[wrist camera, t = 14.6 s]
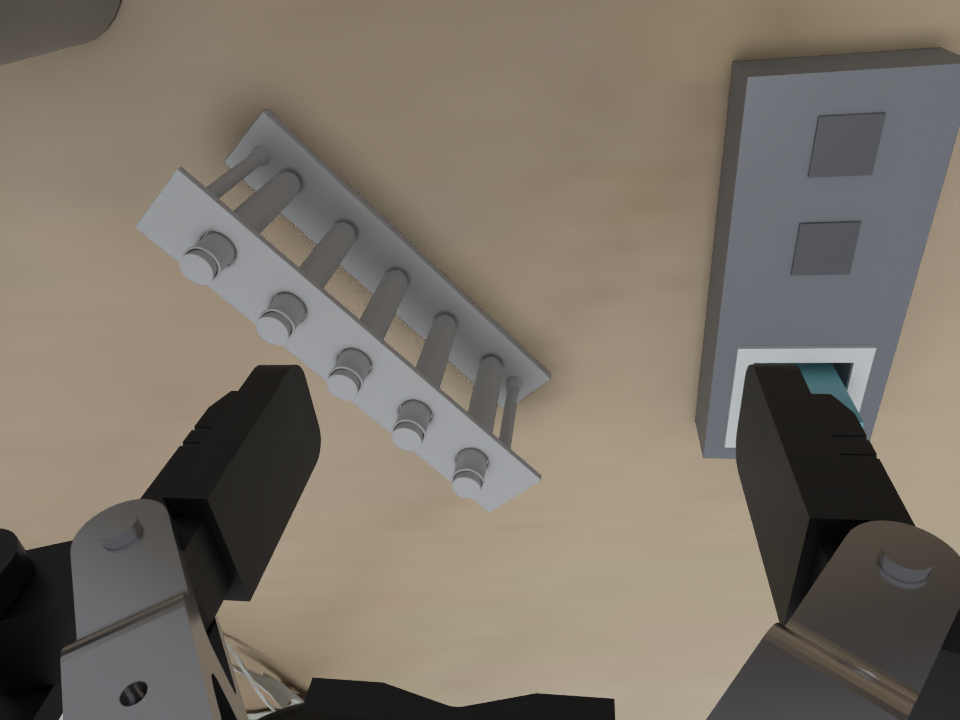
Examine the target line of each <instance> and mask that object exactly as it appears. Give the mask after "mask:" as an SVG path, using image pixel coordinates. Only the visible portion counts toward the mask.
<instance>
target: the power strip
mask: <svg viewBox="0 0 960 720" xmlns="http://www.w3.org/2000/svg"><path fill="white" fill-rule="evenodd" d="M959 126H960V55H958V54H955V53H953V52H950V51H948V50H945V49H942V48H925V49H911V50H896V51H881V52H867V53H852V54H837V55H823V56H808V57H793V58H779V59H764V60H750V61H735V62H733V64H732V74H731V83H730V93H729V102H728V112H727V121H726V131H725V141H724V150H723V160H722V169H721V179H720V188H719V198H718V207H717V217H716V227H715V236H714V246H713V255H712V265H711V274H710V284H709V293H708V303H707V313H706V322H705V332H704V341H703V351H702V360H701V370H700V379H699V389H698V399H697V408H696V418H695V422H696V427H697V432H698V436H699V441H700V446H701V450H702V455H703V458H727V459H736V434H737V427H738V420H739V414H740V407H741V400H742V393H743V387H744V380H745V374H746V370H747V367H748V366H749V365H751V364H754V363H832V364H833V366H834V368H835V370H836V372H837V374H838V375H839V377H840V379H841V381H842V383H843V385H844V386H845V388H846V390H847V392H848V394H849V396H850V398H851V399H852V401H853V403H854V405H855V407H856V409H857V410H858V412H859V414H860V416H861V418H862V420H863V421H864V425H863V430H864V431H865V433H866V435H867V440H869V441H870V438H871V435H872V431H873V428H874V424H875V420H876V417H877V413H878V410H879V406H880V403H881V399H882V396H883V392H884V389H885V385H886V382H887V378H888V375H889V371H890V368H891V364H892V361H893V357H894V354H895V350H896V347H897V343H898V340H899V336H900V333H901V329H902V326H903V322H904V319H905V315H906V312H907V308H908V305H909V301H910V298H911V294H912V291H913V287H914V284H915V280H916V277H917V273H918V270H919V266H920V263H921V259H922V256H923V252H924V249H925V245H926V242H927V238H928V235H929V231H930V228H931V224H932V221H933V217H934V214H935V210H936V207H937V203H938V200H939V196H940V193H941V189H942V186H943V182H944V179H945V175H946V172H947V168H948V165H949V161H950V158H951V154H952V151H953V147H954V144H955V140H956V137H957V133H958V130H959Z"/></svg>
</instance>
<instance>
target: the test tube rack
mask: <svg viewBox="0 0 960 720" xmlns="http://www.w3.org/2000/svg"><path fill="white" fill-rule="evenodd" d="M224 163H225V164H226V165H227V166H228V167H229V168H230V170H229V171H228V172H226V173H225V174H224V175H222V176H221V177H220V178H218V179H217V180H216V181H214V182H213V183H212V184H210V185H209V186H207V187H204V186H203V185H202V184H201V183H200V182H199V181H197V180H196V179H195V178H194V177H193V176H192V175H190V174H189V173H188V172H187V171H186V170H185V169H183V168H182V167H180V168H178V169H177V170H176V172H175V173H174V174H173V176H172V177H171V178H170V180H169V181H168V183H167V184H166V185H165V187H164V188H163V189H162V191H161V192H160V194H159V195H158V196H157V198H156V199H155V200H154V202H153V203H152V205H151V206H150V207H149V209H148V210H147V212H146V213H145V214H144V216H143V217H142V218H141V220H140V221H139V223H138V224H137V225H136V227H135V228H136V229H138V230H139V231H140V232H141V233H143V234H144V235H145V236H146V237H148V238H149V239H150V240H151V241H152V242H154V243H155V244H156V245H157V246H159V247H160V248H161V249H162V250H164V251H165V252H166V253H167V254H169V255H170V256H171V257H172V258H174V259H175V260H176V261H177V262H179V265H180V269H181V271H182V273H183V274H184V276H185V277H186V278H187V279H188V280H190V281H191V282H193V283H196V284H199V285H205V284H206V285H207V286H208V287H210V288H211V289H212V290H213V291H215V292H216V293H217V294H218V295H220V296H221V297H222V298H223V299H225V300H226V301H227V302H228V303H230V304H231V305H232V306H233V307H234V308H236V309H237V310H238V311H239V312H241V313H242V314H243V315H244V316H246V317H247V318H248V319H249V320H251V321H252V322H253V323H254V324H256V329H257V332H258V334H259V335H260V337H261V338H262V339H263V340H265V341H266V342H268V343H270V344H274V345H282V346H283V347H284V348H285V349H287V350H288V351H289V352H290V353H292V354H293V355H294V356H295V357H297V358H298V359H299V360H300V361H302V362H303V363H304V364H305V365H307V366H308V367H309V368H310V369H312V370H313V371H314V372H315V373H317V374H318V375H319V376H320V377H321V378H323V379H324V380H325V381H326V382H327V388H328V390H329V391H330V393H331V394H332V395H333V396H335V397H337V398H339V399H342V400H350V401H351V402H353V403H354V404H355V405H356V406H358V407H359V408H360V409H361V410H362V411H364V412H365V413H366V414H367V415H369V416H370V417H371V418H372V419H374V420H375V421H376V422H377V423H379V424H380V425H381V426H382V427H384V428H385V429H386V430H387V431H389V432H390V433H391V434H392V440H393V442H394V444H395V445H396V446H397V447H399V448H400V449H402V450H405V451H413V452H415V453H416V454H417V455H418V456H420V457H421V458H422V459H423V460H425V461H426V462H427V463H428V464H430V465H431V466H432V467H433V468H435V469H436V470H437V471H438V472H440V473H441V474H442V475H443V476H444V477H446V478H447V479H448V480H449V481H451V482H452V488H453V490H454V492H455V493H456V494H457V495H459V496H460V497H463V498H467V499H473V500H474V501H476V502H477V503H478V504H479V505H481V506H482V507H483V508H484V509H486V510H487V511H488V512H491V511H493V510H494V509H496V508H498V507H499V506H501V505H502V504H504V503H506V502H507V501H509V500H510V499H512V498H513V497H515V496H517V495H518V494H520V493H521V492H523V491H525V490H526V489H528V488H529V487H531V486H533V485H534V484H536V483H537V482H539V481H541V475H540V474H539V473H538V472H537V471H535V470H534V469H533V468H532V467H531V466H530V465H529V464H527V463H526V462H525V461H524V460H523V459H522V458H520V457H519V456H518V455H517V454H516V453H515V452H513V451H512V450H511V442H512V435H513V427H514V420H515V413H516V405H517V402H519V401H520V400H521V399H523V398H524V397H526V396H527V395H528V394H530V393H531V392H533V391H534V390H535V389H537V388H538V387H540V386H541V385H542V384H544V383H545V382H547V381H548V380H549V379H550V375H551V373H550V372H549V371H548V370H547V369H546V368H545V367H544V366H543V365H541V364H540V363H539V362H538V361H537V360H536V359H535V358H534V357H533V356H532V355H531V354H530V353H529V352H527V351H526V350H525V349H524V348H523V347H522V346H521V345H520V344H519V343H518V342H517V341H516V340H515V339H514V338H512V337H511V336H510V335H509V334H508V333H507V332H506V331H505V330H504V329H503V328H502V327H501V326H500V325H499V324H497V323H496V322H495V321H494V320H493V319H492V318H491V317H490V316H489V315H488V314H487V313H486V312H485V311H483V310H482V309H481V308H480V307H479V306H478V305H477V304H476V303H475V302H474V301H473V300H472V299H471V298H470V297H468V296H467V295H466V294H465V293H464V292H463V291H462V290H461V289H460V288H459V287H458V286H457V285H456V284H455V283H453V282H452V281H451V280H450V279H449V278H448V277H447V276H446V275H445V274H444V273H443V272H442V271H441V270H440V269H438V268H437V267H436V266H435V265H434V264H433V263H432V262H431V261H430V260H429V259H428V258H427V257H426V256H425V255H423V254H422V253H421V252H420V251H419V250H418V249H417V248H416V247H415V246H414V245H413V244H412V243H411V242H410V241H408V240H407V239H406V238H405V237H404V236H403V235H402V234H401V233H400V232H399V231H398V230H397V229H396V228H394V227H393V226H392V225H391V224H390V223H389V222H388V221H387V220H386V219H385V218H384V217H383V216H382V215H381V214H379V213H378V212H377V211H376V210H375V209H374V208H373V207H372V206H371V205H370V204H369V203H368V202H367V201H366V200H364V199H363V198H362V197H361V196H360V195H359V194H358V193H357V192H356V191H355V190H354V189H353V188H352V187H351V186H349V185H348V184H347V183H346V182H345V181H344V180H343V179H342V178H341V177H340V176H339V175H338V174H337V173H336V172H334V171H333V170H332V169H331V168H330V167H329V166H328V165H327V164H326V163H325V162H324V161H323V160H322V159H321V158H319V157H318V156H317V155H316V154H315V153H314V152H313V151H312V150H311V149H310V148H309V147H308V146H307V145H306V144H304V143H303V142H302V141H301V140H300V139H299V138H298V137H297V136H296V135H295V134H294V133H293V132H292V131H291V130H289V129H288V128H287V127H286V126H285V125H284V124H283V123H282V122H281V121H280V120H279V119H278V118H277V117H276V116H275V115H273V114H272V113H271V112H270V111H269V110H268V109H267V110H265V111H263V112H262V113H261V115H260V116H259V117H258V119H257V120H256V121H255V122H254V124H253V125H252V126H251V128H250V129H249V130H248V132H247V133H246V134H245V136H244V137H243V138H242V140H241V141H240V142H239V143H238V145H237V146H236V147H235V149H234V150H233V151H232V152H231V154H230V155H229V156H228V158H227V159H226V160H225V162H224ZM241 180H244V181H245V182H246V183H247V184H249V185H250V186H251V187H252V188H253V189H254V190H255V191H256V192H255V193H254V194H253V195H252V196H250V197H249V198H248V199H247V200H246V201H245V202H243V203H242V204H241V205H240V206H239V207H238V208H237V209H235V210H234V211H232V210H231V209H230V208H229V207H228V206H227V205H225V204H224V203H223V202H222V201H221V200H220V199H219V198H220V197H221V196H223V195H224V194H225V193H226V192H228V191H229V190H230V189H231V188H233V187H234V186H235V185H236V184H238V183H239V182H240V181H241ZM279 213H282V214H283V215H284V216H285V217H286V218H287V219H288V220H289V221H291V222H292V223H293V224H294V225H295V226H296V227H297V228H299V229H300V230H301V231H302V232H303V233H304V234H305V235H307V236H308V237H309V238H310V239H311V240H312V241H313V242H314V243H316V244H317V246H316V247H315V248H314V249H313V251H312V252H311V253H310V254H309V256H308V257H307V258H306V259H305V261H304V262H303V263H302V265H301V266H300V267H298V266H297V265H295V264H294V263H293V262H292V261H291V260H290V259H288V258H287V257H286V256H285V255H284V254H283V253H281V252H280V251H279V250H278V249H277V248H276V247H274V246H273V245H272V244H271V243H270V242H269V241H267V240H266V239H265V238H264V237H263V236H262V235H260V233H261V232H262V231H263V230H264V229H265V228H266V226H267V225H268V224H269V223H270V222H271V221H272V220H273V219H274V218H275V217H276V216H277V215H278V214H279ZM207 232H209V233H208V234H207V235H205V234H206V233H207ZM204 235H205V236H204ZM203 236H204V237H203ZM202 237H203V238H202ZM234 259H235V260H234ZM233 260H234V261H233ZM232 261H233V262H232ZM231 262H232V263H231ZM230 263H231V264H230ZM339 265H341V266H342V267H343V268H344V269H345V270H346V271H347V272H349V273H350V274H351V275H352V276H353V277H354V278H355V279H357V280H358V281H359V282H360V283H361V284H362V285H363V286H364V287H366V288H367V289H368V290H369V291H370V292H371V293H372V294H373V296H372V298H371V300H370V301H369V303H368V305H367V307H366V309H365V311H364V312H363V314H362V316H361V318H360V320H359V319H358V318H357V317H356V316H355V315H354V314H352V313H351V312H350V311H349V310H348V309H347V308H345V307H344V306H343V305H342V304H341V303H340V302H338V301H337V300H336V299H335V298H334V297H333V296H332V295H330V294H329V293H328V292H327V291H326V290H325V289H323V288H324V287H325V285H326V284H327V282H328V281H329V279H330V278H331V276H332V275H333V274H334V272H335V271H336V269H337V268H338V266H339ZM278 293H279V294H278ZM277 294H278V295H277ZM276 295H277V296H276ZM275 296H276V297H275ZM274 297H275V299H274ZM273 299H274V300H273ZM306 313H307V315H306V316H305V314H306ZM395 314H396V315H397V316H399V317H400V318H401V319H402V320H403V321H404V322H405V323H406V324H408V325H409V326H410V327H411V328H412V329H413V330H414V331H416V332H417V333H418V334H419V335H420V336H421V337H422V338H424V339H425V340H426V341H425V344H424V346H423V349H422V352H421V354H420V357H419V360H418V363H417V365H416V368H415V367H414V366H413V365H412V364H411V363H410V362H408V361H407V360H406V359H405V358H404V357H403V356H401V355H400V354H399V353H398V352H397V351H396V350H394V349H393V348H392V347H391V346H390V345H389V344H387V343H386V342H385V341H384V340H383V339H384V337H385V335H386V333H387V331H388V329H389V326H390V324H391V322H392V320H393V318H394V316H395ZM304 316H305V318H304V319H303V317H304ZM302 319H303V320H302ZM341 352H342V353H341ZM340 353H341V355H340V357H339V354H340ZM338 357H339V358H338ZM448 360H449V361H450V362H451V363H452V364H453V365H454V366H455V367H456V368H458V369H459V370H460V371H461V372H462V373H463V374H464V375H466V376H467V377H468V378H469V379H470V380H471V381H472V382H474V388H473V392H472V396H471V401H470V405H469V409H468V412H467V411H466V410H464V409H463V408H462V407H461V406H460V405H459V404H457V403H456V402H455V401H454V400H453V399H452V398H450V397H449V396H448V395H447V394H446V393H445V392H443V391H442V390H441V389H440V385H441V381H442V378H443V375H444V371H445V368H446V365H447V361H448ZM371 365H372V368H371V369H370V367H371ZM369 369H370V371H369ZM368 371H369V372H368ZM497 404H498V405H500V406H501V407H502V408H503V409H504V412H503V418H502V424H501V430H500V437H499V439H498V438H497V437H496V436H495V435H494V434H492V432H493V426H494V420H495V415H496V409H497ZM401 405H402V406H401ZM400 406H401V409H400ZM399 409H400V411H399ZM431 414H433V415H432V418H431ZM430 418H431V419H430ZM457 454H458V457H457V458H456V456H457ZM487 460H489V461H488V464H487Z"/></svg>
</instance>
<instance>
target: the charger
mask: <svg viewBox="0 0 960 720" xmlns="http://www.w3.org/2000/svg"><path fill="white" fill-rule="evenodd" d="M754 364H796V365H797V366H798V367H799V369H800V371H801V373H802V375H803V377H804V379H805V381H806V383H807V385H808V388H809V390H810V392H811V394H832V395H833V396H834V397H835V398H837V399H838V400H839V401H840V402H841V403H843V404H844V405H845V406H846V407H848V408H849V409H850V410H851V411H853V412H854V413H855V415H856V416H857V418H858V420H859V422H860V424H861V426H862V428H863V425H864V421H863V420H862V418H861V416H860V414H859V412H858V410H857V409H856V407H855V405H854V403H853V401H852V399H851V398H850V396H849V394H848V392H847V390H846V388H845V386H844V385H843V383H842V381H841V379H840V377H839V375H838V374H837V372H836V370H835V368H834V366H833V364H832V363H754Z"/></svg>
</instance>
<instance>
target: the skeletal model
mask: <svg viewBox="0 0 960 720" xmlns="http://www.w3.org/2000/svg"><path fill="white" fill-rule="evenodd" d="M225 642H226V641H225ZM226 646H227V649H228V650H230V651H231V652H232V654H233V656H234V659H235V660H236V662H237V663H238V665H239V666H240V667H238V666H235V665H232V666H233V669H234V671H236V672H238V673H241V674H243V675H246V677H247V678H248V680H249V681H250V683H251V685H252V686H253V688H254V689H255V691H256V692H257V693H258V695H259V696H260V698H261V699H262V700H263V701H264V703H265V704H266V705H267V706H268V707H269V708H270V709H271V710H272V711H264V712H260V713H255V714H247V716H248V718H249V720H257V719H259V718H260V717H263V716H265V715H267V714H269V713H272V712H274V711H276V710H275V709H274V708H273V707H272V705H271V704H270V703H269V702H268V700H267V699H266V698H265V697H264V696H263V694H262V693H261V692H260V690H259V688H258V687H257V685H258V686H259V687H260V688H261V689H263V690H264V691H265V692H266V693H267V694H268V695H270V696H271V697H272V698H273V699H274V701H275V702H276V703H277V704H278V706H279V707H280V708H281V709H282V708H285V707H288V703H289V700H290V699H291V704H290V705H289V706H291V705H295V704H298V703H304V700H303V699H301V698H300V697H299V696H298V695H297V694H295V693H294V692H293V691H291V690H290V689H289V688H288V687H286V686H285V685H284V684H283V683H281V682H280V681H278V680H276V679H274V678H273V677H271V676H269V675H267V674H265V673H263V676H262V675H260V674H257V673H255V672H253V671H251V670H247V668H246V667H245V665H244V664H243V662H242V661H241V659H240V658H239V656H238V655H237V654H236V653H235V651H234V650H233V649H232V648H231V647H230V645H229V644H228V643H227V642H226ZM279 691H280V692H279Z"/></svg>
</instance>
